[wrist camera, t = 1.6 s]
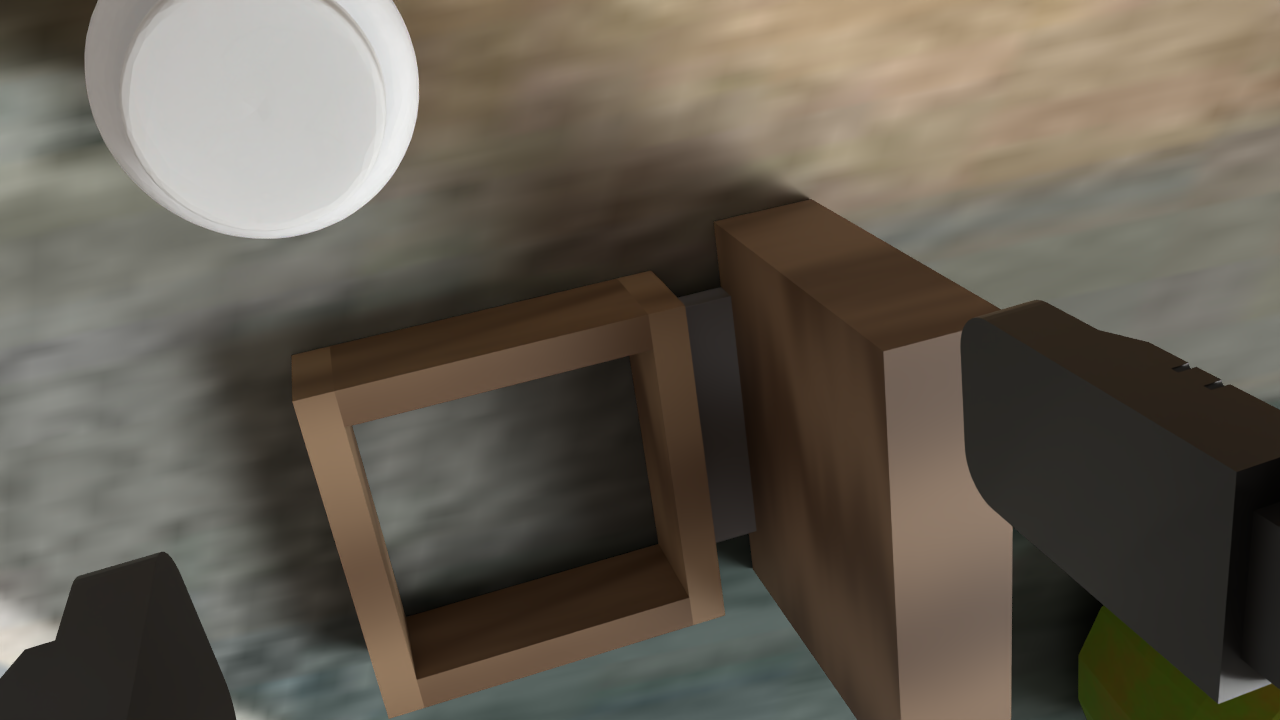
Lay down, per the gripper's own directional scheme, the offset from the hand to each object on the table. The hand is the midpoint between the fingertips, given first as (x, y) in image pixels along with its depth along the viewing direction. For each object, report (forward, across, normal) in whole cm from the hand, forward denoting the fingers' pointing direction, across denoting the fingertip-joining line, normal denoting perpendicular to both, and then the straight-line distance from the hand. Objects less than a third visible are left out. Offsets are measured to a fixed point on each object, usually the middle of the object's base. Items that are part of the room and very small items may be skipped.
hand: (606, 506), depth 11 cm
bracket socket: (+19, -3, +10) cm, 22 cm away
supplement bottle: (+19, +3, -3) cm, 20 cm away
